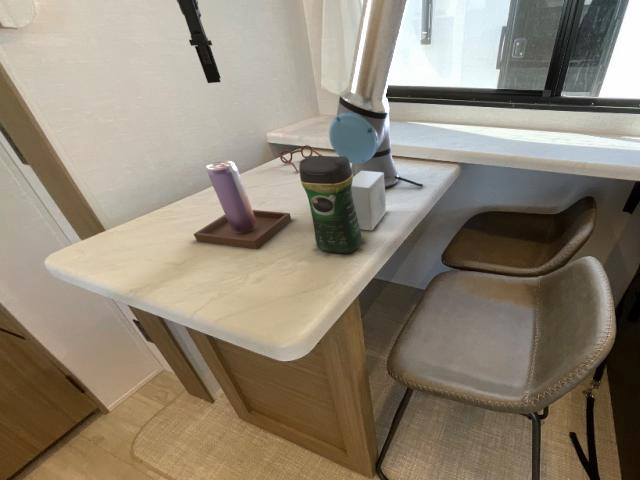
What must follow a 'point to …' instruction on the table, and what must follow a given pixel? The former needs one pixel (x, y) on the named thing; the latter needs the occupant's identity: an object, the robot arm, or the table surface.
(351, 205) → the coffee jar
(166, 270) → the table surface
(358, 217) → the cosmetics box
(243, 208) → the beverage can
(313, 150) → the glasses
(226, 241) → the tray
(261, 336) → the table surface
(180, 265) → the table surface
